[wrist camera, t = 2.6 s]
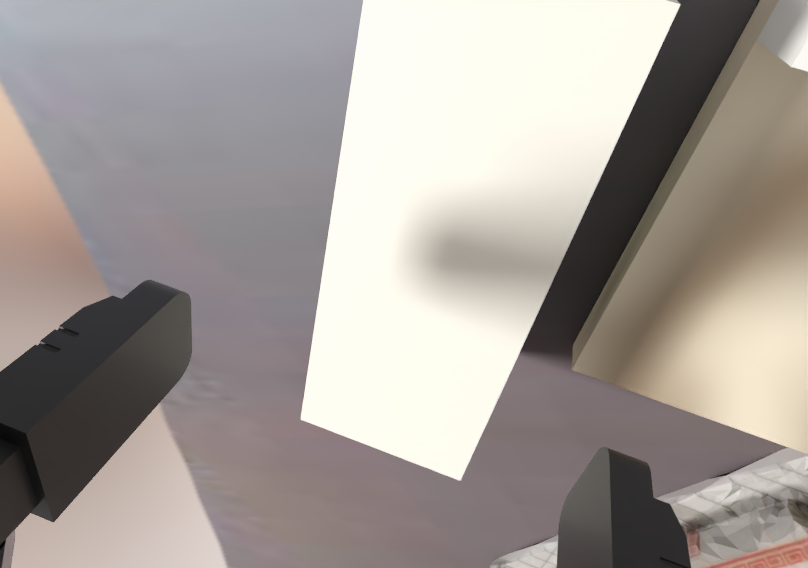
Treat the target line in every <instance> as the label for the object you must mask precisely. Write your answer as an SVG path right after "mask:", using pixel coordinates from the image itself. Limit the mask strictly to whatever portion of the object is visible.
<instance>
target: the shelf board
mask: <svg viewBox="0 0 808 568" xmlns="http://www.w3.org/2000/svg"><path fill="white" fill-rule="evenodd" d="M778 1H779V0H760V1H759V3H758V5H757V7H756V8H755V10H754V12H753V14H752V16H751V18H750V20H749V21H748V23H747V25H746V27H745V29H744V31H743V32H742V34H741V36H740V38H739V40H738V42H737V44H736V45H735V47H734V49H733V51H732V53H731V55H730V56H729V58H728V60H727V62H726V64H725V66H724V67H723V69H722V71H721V73H720V75H719V77H718V79H717V80H716V82H715V84H714V86H713V88H712V90H711V91H710V93H709V95H708V97H707V99H706V101H705V102H704V104H703V106H702V108H701V110H700V112H699V114H698V115H697V117H696V119H695V121H694V123H693V125H692V126H691V128H690V130H689V132H688V134H687V136H686V137H685V139H684V141H683V143H682V145H681V147H680V149H679V150H678V152H677V154H676V156H675V158H674V160H673V161H672V163H671V165H670V167H669V169H668V171H667V172H666V174H665V176H664V178H663V180H662V182H661V184H660V185H659V187H658V189H657V191H656V193H655V195H654V196H653V198H652V200H651V202H650V204H649V206H648V207H647V209H646V211H645V213H644V215H643V217H642V219H641V220H640V222H639V224H638V226H637V228H636V230H635V231H634V233H633V235H632V237H631V239H630V241H629V242H628V244H627V246H626V248H625V250H624V252H623V254H622V255H621V257H620V259H619V261H618V263H617V265H616V266H615V268H614V270H613V272H612V274H611V276H610V277H609V279H608V281H607V283H606V285H605V287H604V289H603V290H602V292H601V294H600V296H599V298H598V300H597V301H596V303H595V305H594V307H593V309H592V311H591V312H590V314H589V316H588V318H587V320H586V322H585V324H584V325H583V327H582V329H581V331H580V333H579V335H578V336H577V338H576V340H575V342H574V344H573V353H572V370H573V371H576V372H579V373H582V374H585V375H587V376H590V377H593V378H596V379H599V380H601V381H604V382H607V383H610V384H613V385H615V386H618V387H621V388H624V389H627V390H629V391H632V392H635V393H638V394H641V395H643V396H646V397H649V398H652V399H655V400H657V401H660V402H663V403H666V404H669V405H671V406H674V407H677V408H680V409H682V410H685V411H688V412H691V413H694V414H696V415H699V416H702V417H705V418H708V419H710V420H713V421H716V422H719V423H722V424H724V425H727V426H730V427H733V428H736V429H738V430H741V431H744V432H747V433H750V434H752V435H755V436H758V437H761V438H764V439H766V440H769V441H772V442H775V443H778V444H780V445H783V446H786V447H789V448H792V449H794V450H797V451H800V452H803V453H806V454H808V71H804V70H801V69H797V68H794V67H791V66H789V65H788V64H787V63H786V62H784V61H783V60H782V59H780V58H779V57H778V56H777V55H775V54H774V53H773V52H772V51H770V50H769V49H768V48H766V47H765V46H764V45H763V44H761V43H760V42H759V41H757V39H758V37H759V35H760V34H761V32H762V30H763V28H764V26H765V25H766V23H767V21H768V19H769V17H770V16H771V14H772V12H773V10H774V9H775V7H776V5H777V3H778Z"/></svg>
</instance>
